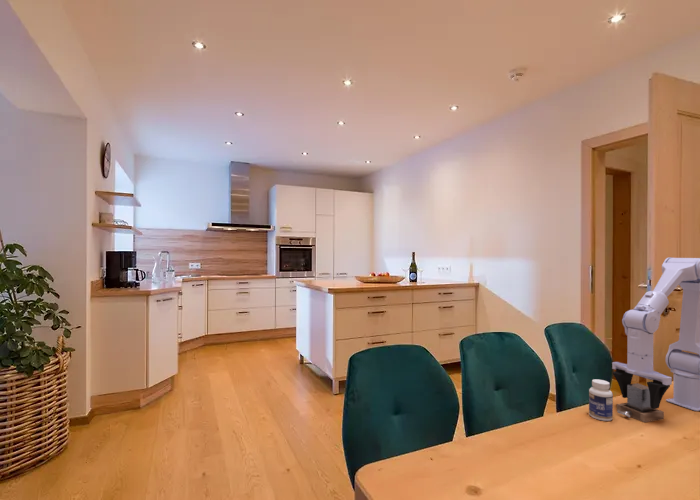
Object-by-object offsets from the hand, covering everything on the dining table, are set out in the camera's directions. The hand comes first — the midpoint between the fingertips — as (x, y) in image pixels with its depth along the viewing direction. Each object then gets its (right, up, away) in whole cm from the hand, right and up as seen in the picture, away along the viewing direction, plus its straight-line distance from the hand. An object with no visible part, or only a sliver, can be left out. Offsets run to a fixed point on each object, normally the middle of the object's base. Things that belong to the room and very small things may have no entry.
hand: (639, 402), depth 103 cm
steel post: (0, -4, 0) cm, 3 cm away
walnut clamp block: (-1, -3, 0) cm, 4 cm away
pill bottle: (-12, -4, -2) cm, 13 cm away
